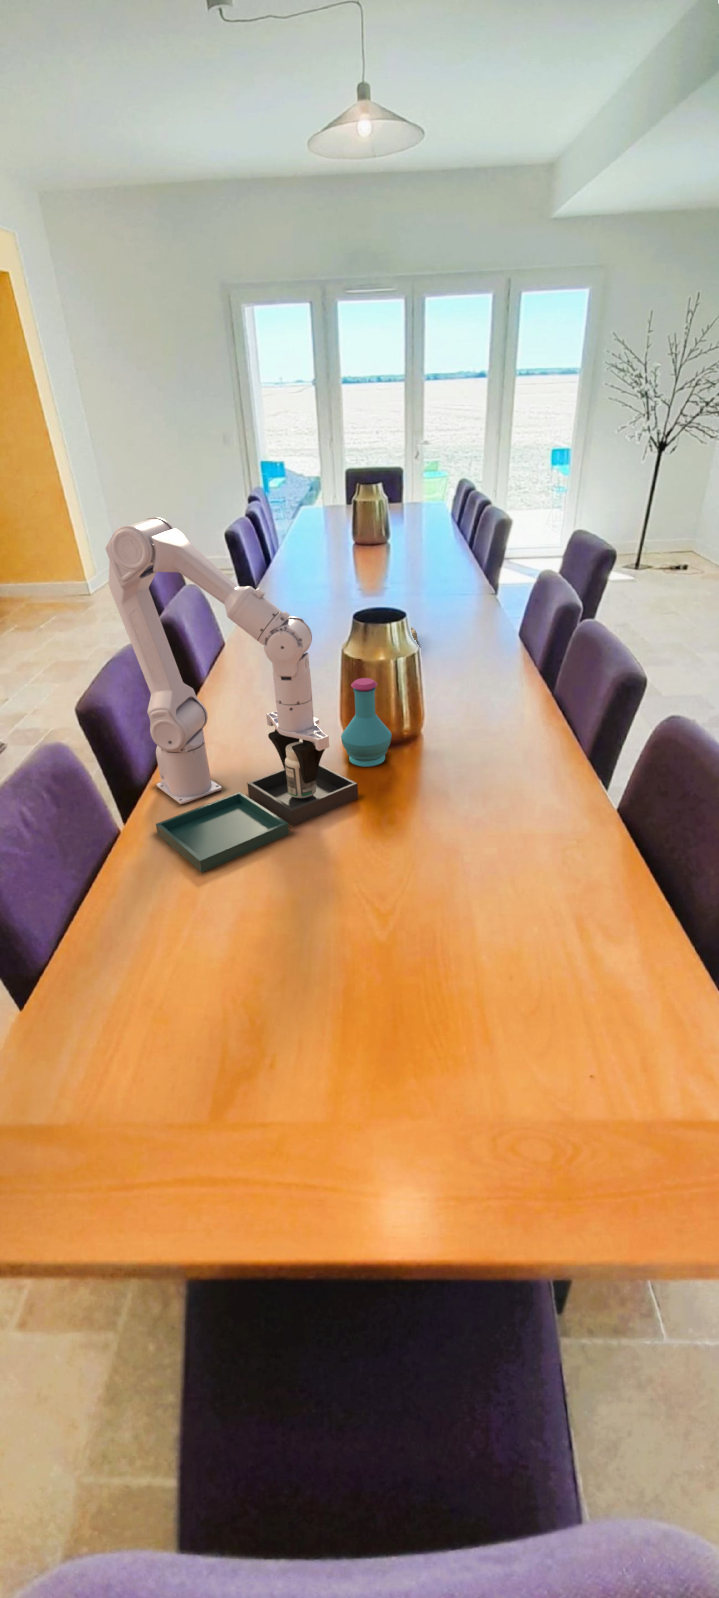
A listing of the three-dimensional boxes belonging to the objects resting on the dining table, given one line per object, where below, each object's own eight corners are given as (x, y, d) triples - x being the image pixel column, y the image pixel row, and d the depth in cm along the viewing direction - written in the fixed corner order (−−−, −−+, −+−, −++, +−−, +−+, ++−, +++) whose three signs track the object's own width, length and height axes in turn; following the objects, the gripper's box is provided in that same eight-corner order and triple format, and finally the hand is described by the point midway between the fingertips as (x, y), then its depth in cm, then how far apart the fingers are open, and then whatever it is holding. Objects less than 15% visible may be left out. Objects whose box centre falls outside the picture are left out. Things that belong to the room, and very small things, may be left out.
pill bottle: (319, 786, 122) (315, 741, 118) (312, 800, 118) (308, 753, 114) (292, 785, 123) (287, 740, 119) (284, 798, 119) (279, 752, 115)
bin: (248, 797, 122) (246, 782, 121) (311, 772, 129) (310, 758, 128) (293, 826, 113) (291, 810, 112) (358, 798, 120) (357, 783, 119)
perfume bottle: (387, 771, 128) (385, 691, 121) (337, 768, 130) (332, 689, 123) (395, 749, 136) (394, 673, 129) (348, 747, 138) (344, 672, 131)
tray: (157, 834, 112) (155, 823, 111) (241, 801, 121) (239, 791, 120) (201, 872, 103) (199, 861, 102) (289, 834, 111) (288, 823, 110)
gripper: (342, 703, 110) (346, 782, 116) (288, 681, 120) (295, 755, 126) (305, 716, 106) (311, 797, 112) (252, 692, 116) (261, 767, 122)
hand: (300, 776), depth 119 cm, fingers closed on pill bottle, 5 cm apart
